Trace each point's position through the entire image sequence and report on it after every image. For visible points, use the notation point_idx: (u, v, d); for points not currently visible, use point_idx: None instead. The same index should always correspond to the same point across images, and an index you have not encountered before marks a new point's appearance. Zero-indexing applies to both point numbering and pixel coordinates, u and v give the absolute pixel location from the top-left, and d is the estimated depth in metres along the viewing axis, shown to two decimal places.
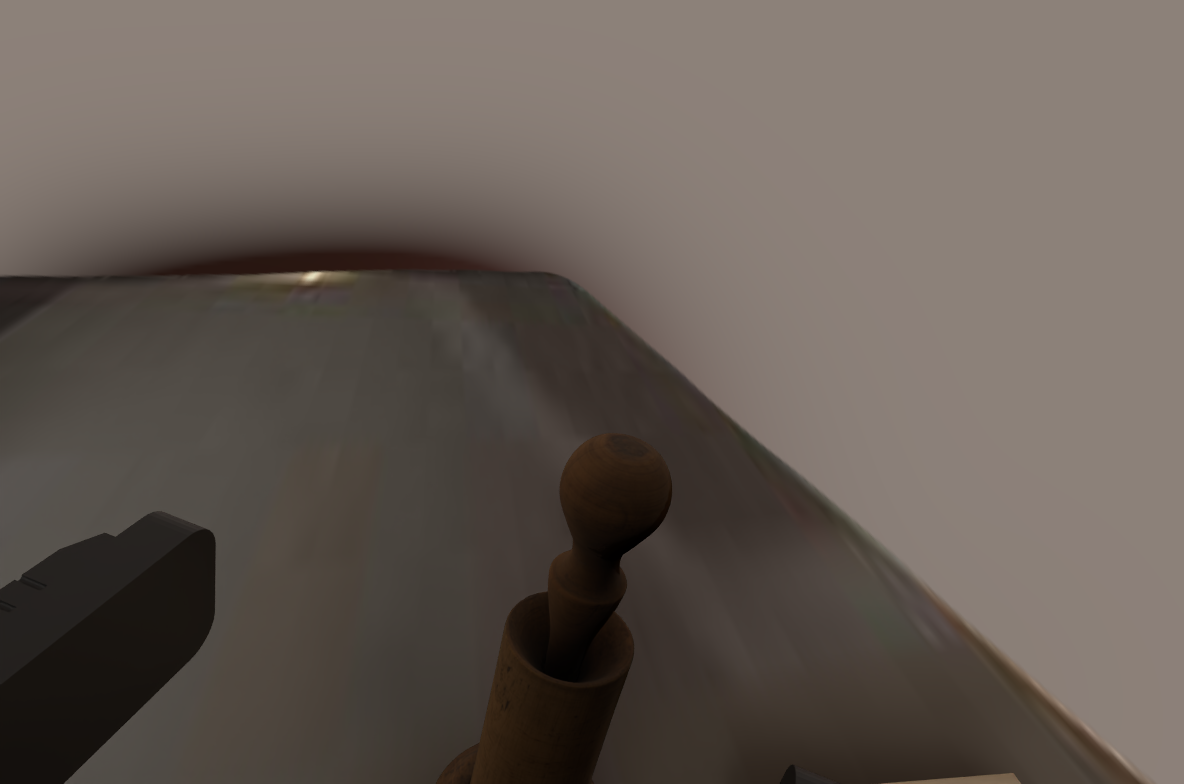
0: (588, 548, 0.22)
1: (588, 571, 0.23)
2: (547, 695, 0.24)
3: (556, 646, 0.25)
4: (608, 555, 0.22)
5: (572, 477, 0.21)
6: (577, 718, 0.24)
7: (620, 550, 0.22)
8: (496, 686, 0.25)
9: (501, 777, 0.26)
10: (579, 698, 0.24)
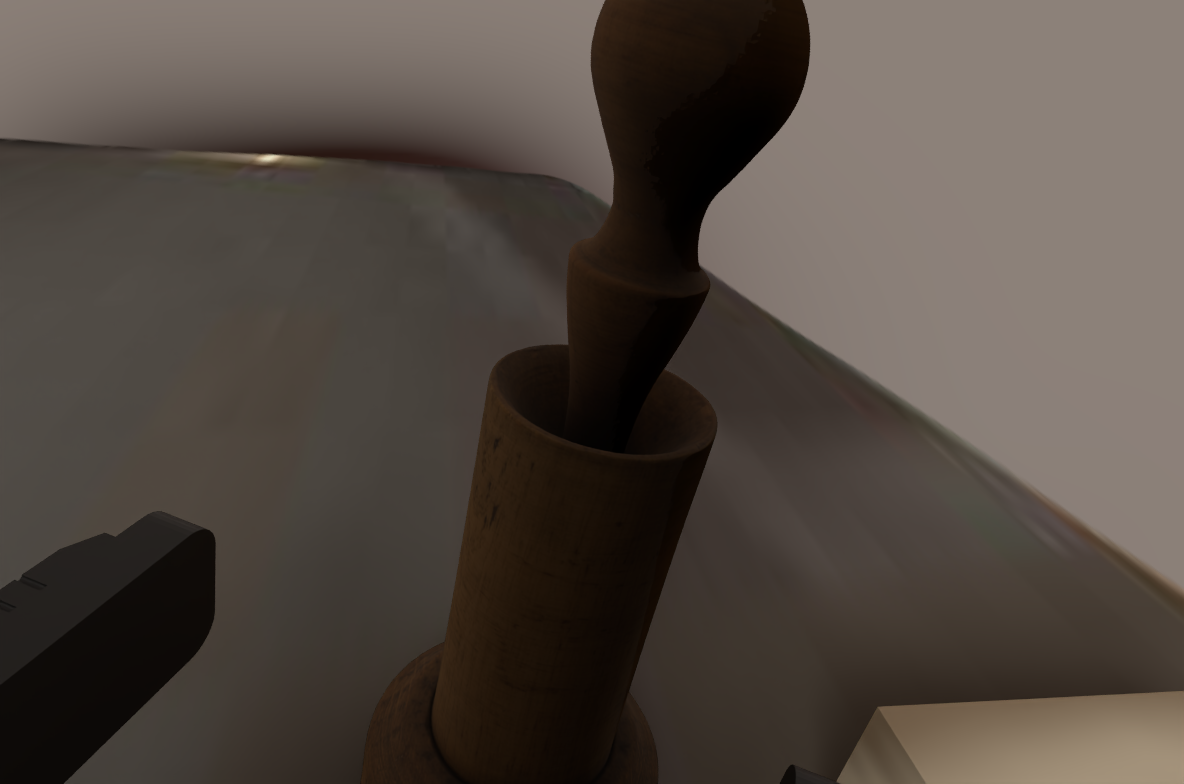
0: (647, 167, 0.11)
1: (644, 231, 0.12)
2: (567, 479, 0.13)
3: (581, 408, 0.14)
4: (684, 183, 0.12)
5: None
6: (621, 527, 0.13)
7: (712, 162, 0.11)
8: (474, 490, 0.14)
9: (485, 653, 0.15)
10: (627, 485, 0.13)
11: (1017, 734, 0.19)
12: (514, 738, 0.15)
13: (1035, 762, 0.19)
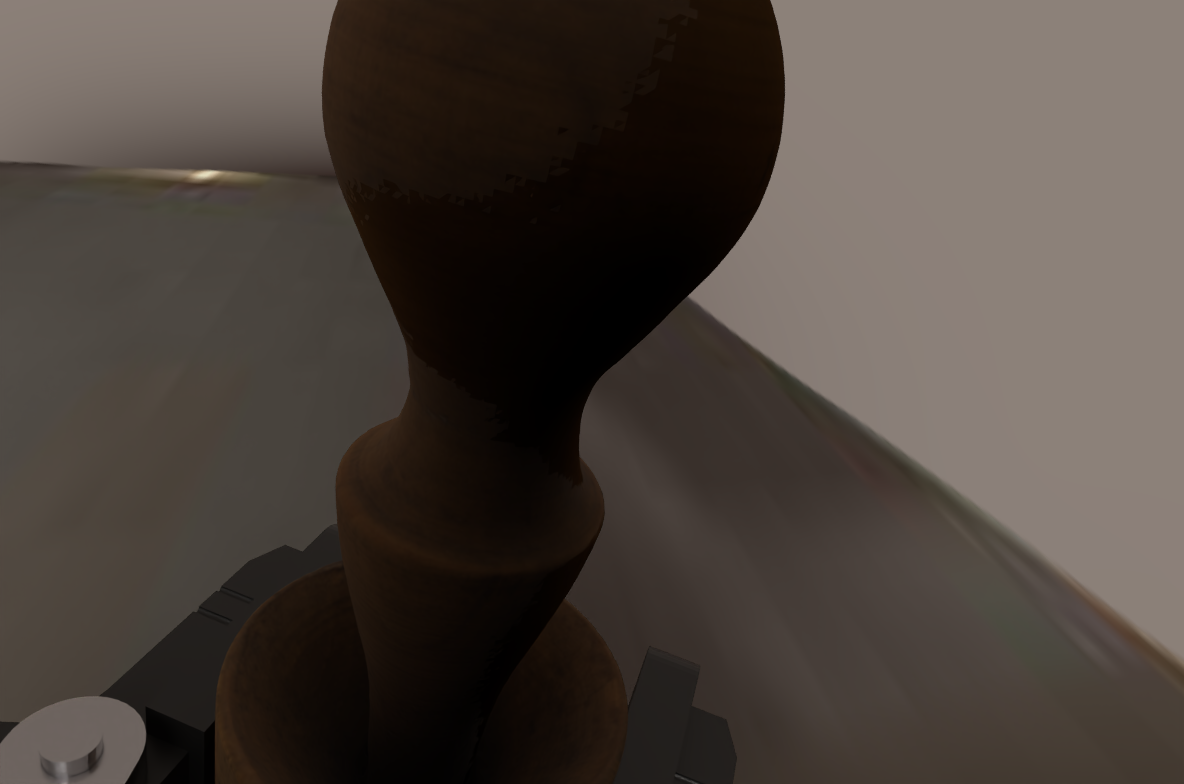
0: (441, 338, 0.05)
1: (459, 450, 0.06)
2: None
3: (383, 714, 0.08)
4: (523, 372, 0.06)
5: None
6: None
7: (571, 338, 0.05)
8: None
9: None
10: None
11: None
12: None
13: None
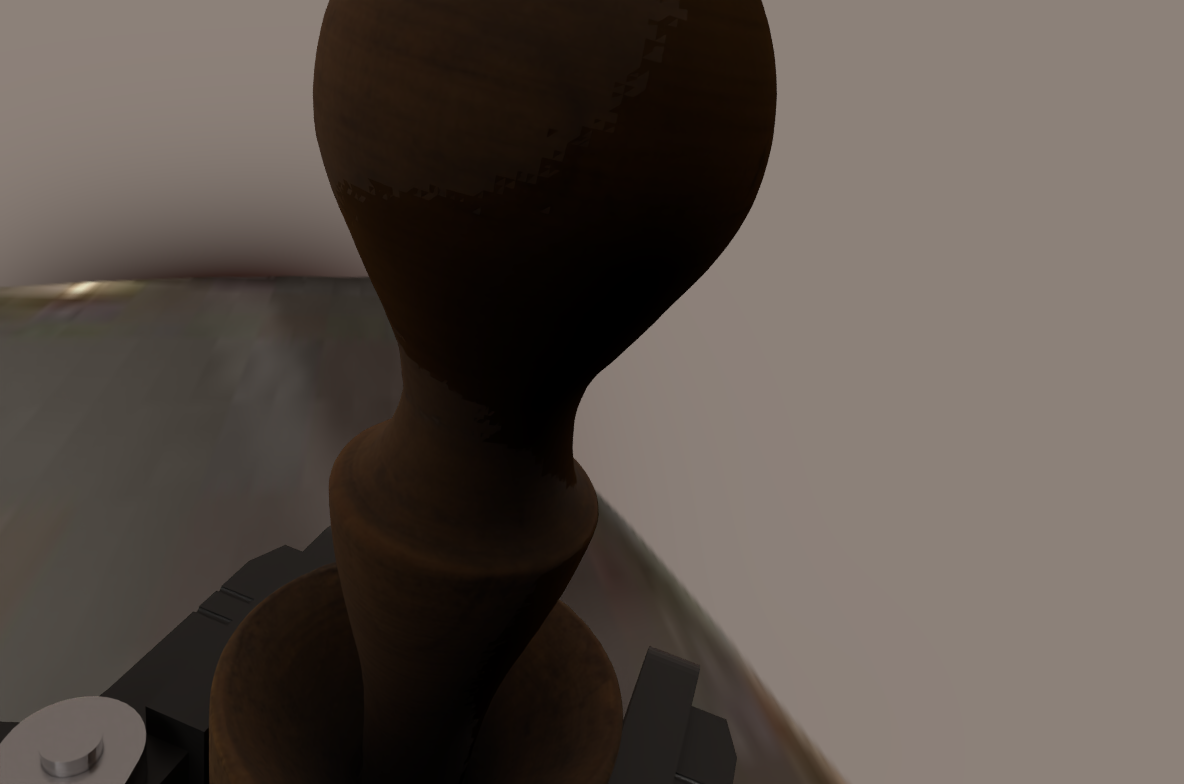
0: (434, 340, 0.05)
1: (452, 451, 0.06)
2: None
3: (377, 715, 0.08)
4: (515, 374, 0.06)
5: None
6: None
7: (563, 339, 0.05)
8: None
9: None
10: None
11: None
12: None
13: None
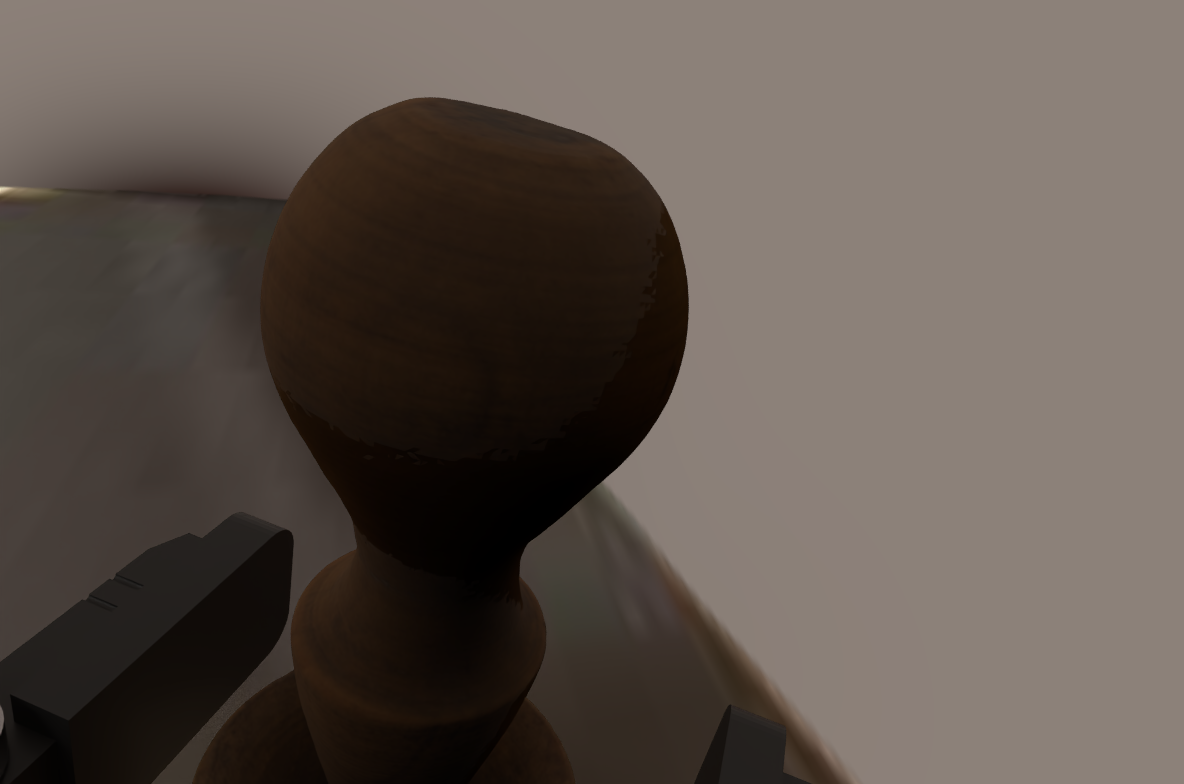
0: (377, 527, 0.06)
1: (400, 609, 0.07)
2: None
3: None
4: (451, 554, 0.06)
5: (281, 232, 0.05)
6: None
7: (493, 532, 0.06)
8: None
9: None
10: None
11: None
12: None
13: None
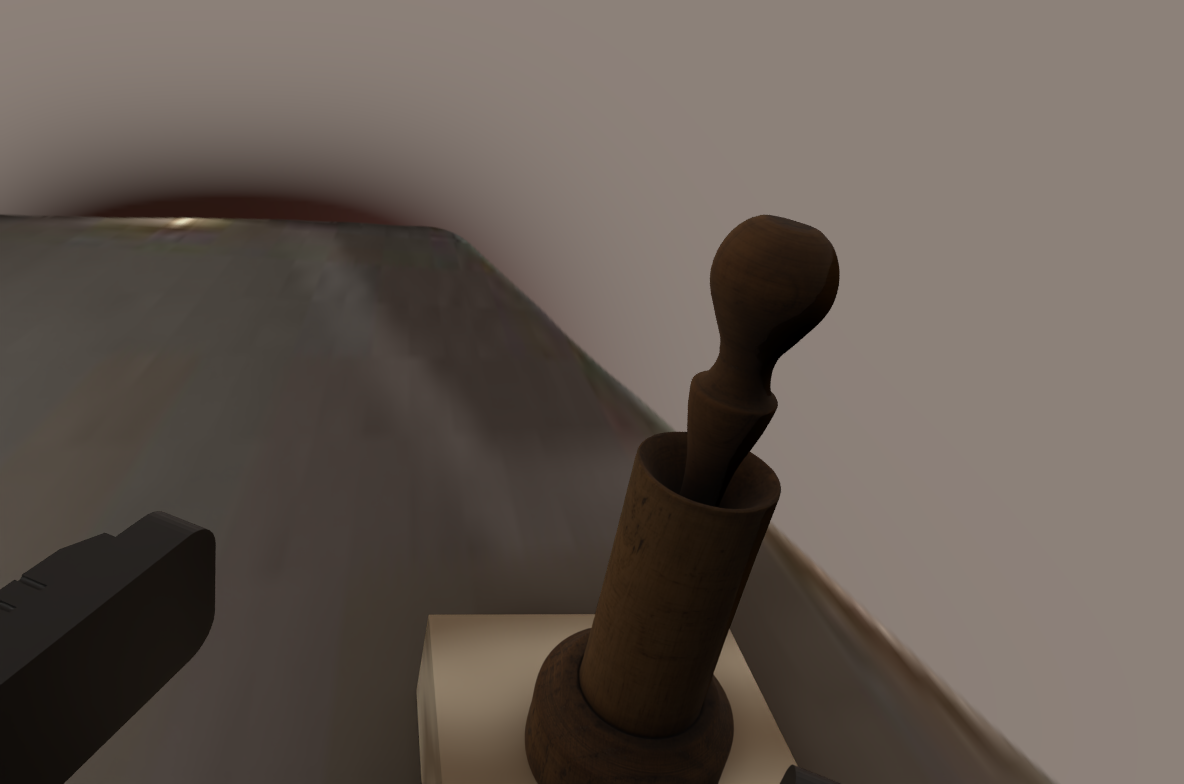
0: (744, 343, 0.20)
1: (740, 376, 0.20)
2: (692, 524, 0.21)
3: (695, 477, 0.22)
4: (766, 352, 0.20)
5: (731, 255, 0.19)
6: (723, 553, 0.21)
7: (783, 342, 0.19)
8: (624, 528, 0.23)
9: (629, 634, 0.23)
10: (728, 527, 0.21)
11: (519, 632, 0.31)
12: (645, 690, 0.23)
13: (518, 647, 0.30)
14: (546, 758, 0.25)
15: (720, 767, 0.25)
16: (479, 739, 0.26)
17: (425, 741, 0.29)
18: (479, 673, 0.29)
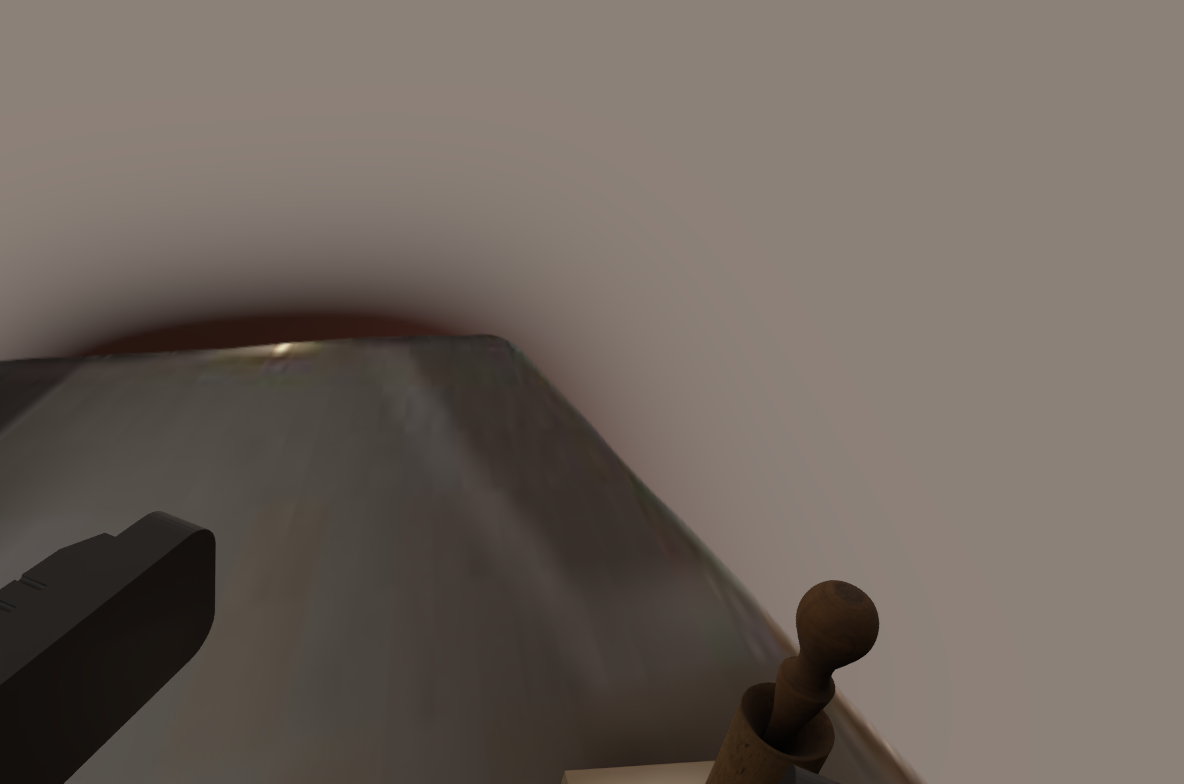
0: (818, 664, 0.31)
1: (813, 678, 0.32)
2: (780, 766, 0.33)
3: (779, 728, 0.34)
4: (831, 668, 0.31)
5: (812, 616, 0.31)
6: None
7: (843, 665, 0.31)
8: (730, 756, 0.34)
9: None
10: (803, 768, 0.33)
11: (629, 783, 0.43)
12: None
13: None
14: None
15: None
16: None
17: None
18: None
